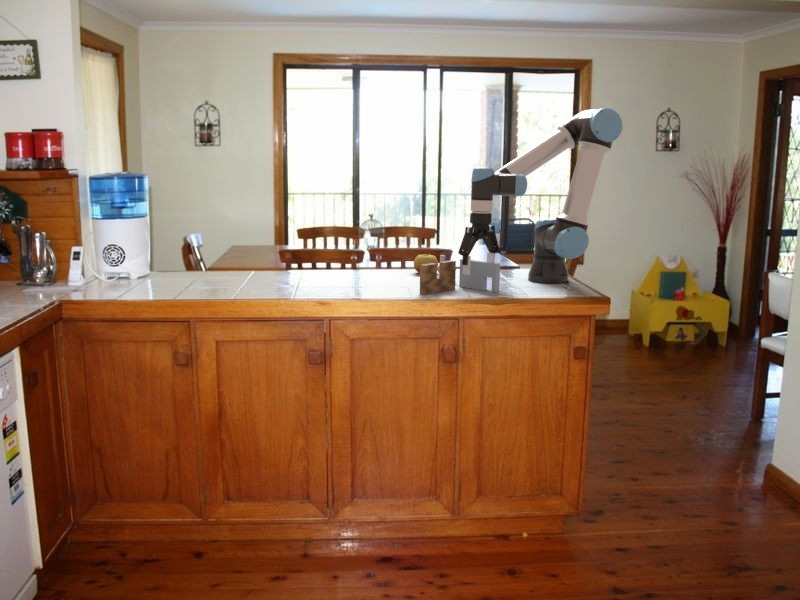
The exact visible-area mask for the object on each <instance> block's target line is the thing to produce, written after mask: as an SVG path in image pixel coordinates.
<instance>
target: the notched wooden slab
mask: <svg viewBox="0 0 800 600" xmlns="http://www.w3.org/2000/svg"><path fill="white" fill-rule="evenodd" d="M456 263H457V261H456V260H451V259H450V260H445V261H443V262H440V261H438V266H439V272H438V271H437V264H435V263H429V264H422V265H420V273H419V294H420V295H424V296H425V295H431V294H435V293H436V294H437V293H442V292H446V291H451V290H452V291H453V290H455V289H456V275H457V273H456V271H457V266H456V265H457V264H456Z"/></svg>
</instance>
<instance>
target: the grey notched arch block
mask: <svg viewBox="0 0 800 600" xmlns="http://www.w3.org/2000/svg"><path fill="white" fill-rule="evenodd" d="M462 261H463V258H460V259H459V283H458V284H459V285H458V286H459V288H464V287H465V288H466V289H471V288H472V290H477V289H479V290H478V291H486V289H487V290H488V288H487V287H488V286H487V285H488V278H491V293H499V292H500V283H501V282H500V280H501V279H500V277H501V263H500V262H495V261H494V262H487V260H485V261H484V260H477V259H471V262H470V275H466V274H463V264H462Z"/></svg>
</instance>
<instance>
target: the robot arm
mask: <svg viewBox="0 0 800 600" xmlns="http://www.w3.org/2000/svg"><path fill="white" fill-rule="evenodd" d="M622 131H623V120H622V118H621V116H620V114H619V113H618V112H617V110H615V109H612V108H610V107H598V108H592V109H591V108H590V109H589V108H588V109H583V110H582V111H580V112H578V113H576V114H575V115H573V116H572V117H571V118H569V119H568V120H567V121H565V122H564V123H562V124H560V125H559V126H558V127H557V131H554V132H553V133H552V134H550V135H549V136H547V137H546V138H544V139H543V140H541V141H540V142H538V143H537V144H535V145H534V146H532V147H531V148H529V149H528V150H527V151H525V152H522V154H520V155H519V156H518V157H515V158H514V159H512V160H511V161H510V162H508V163H507V164H505V165H503V166H502V167H501V168H499V169H498V170H494V169H495V168H493V167H474V168H473V169H472V173H471V174H472V175H471V187H470V188H471V191H470V192H471V194H470V195H471V196H470V211H471V212H470V215H469V223H470V224H471V226H466V227H465V229H464V234H463V238H462V241H461V242H460V246H459V249H458V252H457V253H458V255H460V256H462V259H463V261H462V264H463V274H466V275H470V262H471V260H472V258H471V252H472V251H473V249H474V247H475V245H476V243H477V242H478V241H479V240H483V242H484V245H485V247H486V248H487V250H488V252H487V253H486V261H487V262H494V263H495V260H496V259H495V257H496V254H497V253H499V250H500V246H499V242H498V237H497V235H496V227H495V225H491V224H492V218H493V215H492V212H493V201H494V199H493V198H494V197H493V196H506V197H507V196H509V197H511V196H512V197H513V196H514V197H518V196H519V197H520V196H521V197H522V196H524V195H525V194H526V193H527V189H528V178H527V176H528V175H530V174H531V173H533V172H534V171H536V170H538V169H539V168H541V167H542V166H543V165H545V164H547V163H548V162H549V161H551V160H553V159H554V158H556V157H557V156H559V155H560V154H562V153H563V152H564V151H567V149H569V150H570V149H571V150H573V149H574V148H576V147H577V146H579V148H580V149H579V153H578V157H577V161H576V164H575V166H574V169H573V170H574V171H573V174H572V178H571V180H570V185H569V186H568V187H569V188H568V192H567V195H566V198H565V201H564V205H563V209H562V211H561V214H559V215H558V216H556V218H555V219H541V220H537V221H536V222H535V227H534V246H533V248H534V249H533V261H532V262H531V266H530V269H529V271H528V275H527V276H528V277H527V278H528V281H531V282H534V283H541V284H542V283H543V284H561V283H560V282H564V283H567V282H566V281H568V280H569V279H570V277H569V275H570V274H569V272H568V271H569V270H568V267H567V263H566V259H569V260H570V259H571V260H572V259H576V258H579V257H580V256H582V255H583V254H584V253H585V252H586V251H587V249H588V247H589V243H590V239H589V238H590V237H589V235H588V233H587V232H588V227H589V224H588V222H587V220H586V219H587V215H588V212H589V209H590V205H591V202H592V198H593V195H594V193H595V192H594V191H595V188H596V185H597V181H598V177H599V174H600V171H601V167H602V164H603V161H604V158H605V154H606V153H607V154H608V152H610V151H611V149H612V146H613V142H614V141H616V140H617V139H618V138H619V137H620V135H621V133H622ZM568 282H569V281H568Z"/></svg>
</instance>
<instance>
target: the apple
mask: <svg viewBox="0 0 800 600" xmlns="http://www.w3.org/2000/svg"><path fill="white" fill-rule="evenodd" d="M429 263H435V264H437V266H439V261H438V259H437V257H436V256H435V255H432V254H429V253H427V254H426V253H425V254H418V255H417V256H416V257H415V258H414V260H413V268H414V269H415V271H416V272H417V273H419V274H420V265H422V264H429Z"/></svg>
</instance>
